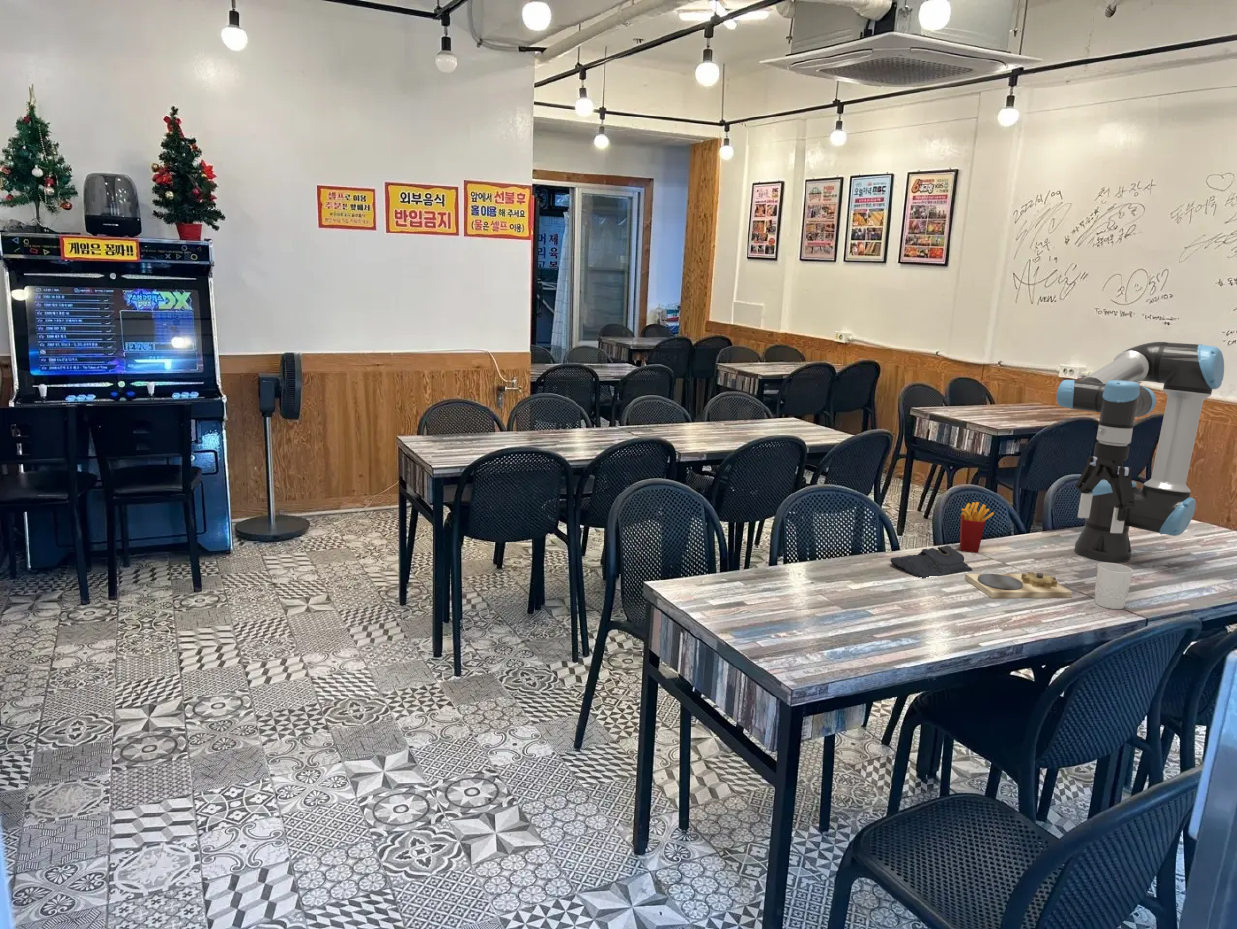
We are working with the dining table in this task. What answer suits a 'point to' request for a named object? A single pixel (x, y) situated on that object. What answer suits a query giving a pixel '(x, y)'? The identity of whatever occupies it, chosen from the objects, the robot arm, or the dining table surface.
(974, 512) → the french fries
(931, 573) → the dark slate chunk
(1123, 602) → the white cup
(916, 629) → the dining table surface
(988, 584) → the gear board
